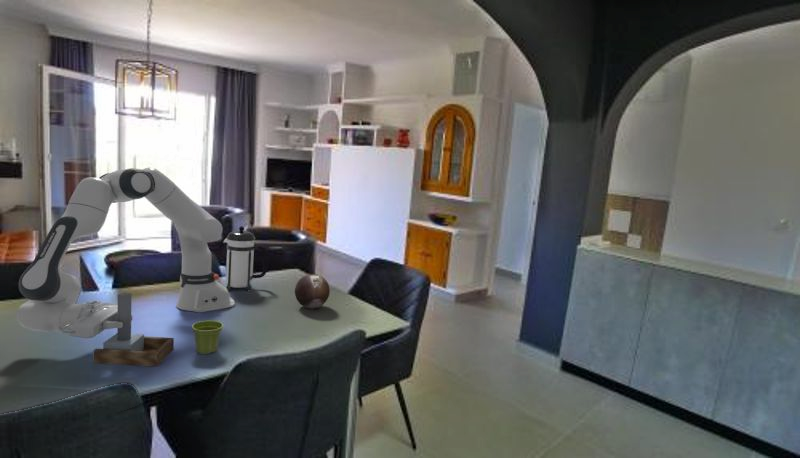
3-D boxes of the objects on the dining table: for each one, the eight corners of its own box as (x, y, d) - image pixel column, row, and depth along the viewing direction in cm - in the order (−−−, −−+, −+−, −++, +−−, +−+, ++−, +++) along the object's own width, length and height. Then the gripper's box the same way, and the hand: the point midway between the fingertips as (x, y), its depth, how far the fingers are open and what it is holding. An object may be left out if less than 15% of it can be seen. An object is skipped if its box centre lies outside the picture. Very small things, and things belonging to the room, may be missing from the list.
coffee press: (237, 294, 209) (240, 230, 205) (215, 287, 217) (218, 225, 213) (267, 287, 224) (270, 227, 220) (245, 280, 232) (248, 222, 228)
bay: (173, 349, 148) (173, 338, 147) (157, 366, 136) (157, 353, 136) (115, 346, 146) (115, 334, 146) (93, 363, 135) (93, 350, 134)
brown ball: (304, 315, 191) (307, 280, 189) (287, 304, 202) (289, 271, 200) (334, 310, 201) (337, 277, 199) (317, 300, 212) (319, 269, 210)
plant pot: (197, 343, 154) (197, 319, 153) (225, 345, 155) (226, 321, 154) (186, 355, 145) (187, 329, 144) (217, 357, 146) (218, 331, 144)
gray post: (143, 349, 145) (144, 291, 142) (131, 360, 137) (131, 299, 135) (117, 347, 144) (117, 290, 142) (103, 358, 137) (103, 297, 134)
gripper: (56, 320, 127) (108, 323, 129) (98, 298, 148) (143, 301, 149) (56, 342, 128) (108, 345, 130) (98, 317, 149) (142, 320, 150)
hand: (127, 321), depth 139 cm, fingers closed on gray post, 4 cm apart
